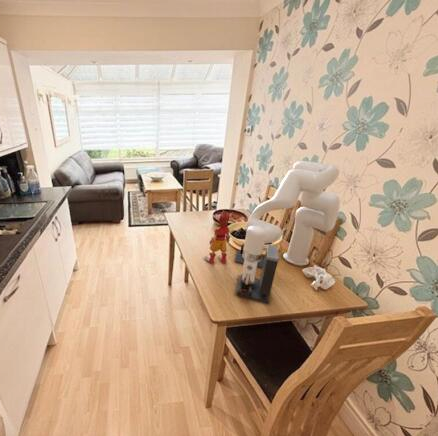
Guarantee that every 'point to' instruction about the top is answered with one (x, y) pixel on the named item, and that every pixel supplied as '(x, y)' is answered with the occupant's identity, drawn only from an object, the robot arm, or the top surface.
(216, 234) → the toy
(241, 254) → the kettle
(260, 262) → the plate
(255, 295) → the coffee maker
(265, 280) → the brewer column
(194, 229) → the top surface
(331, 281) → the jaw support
